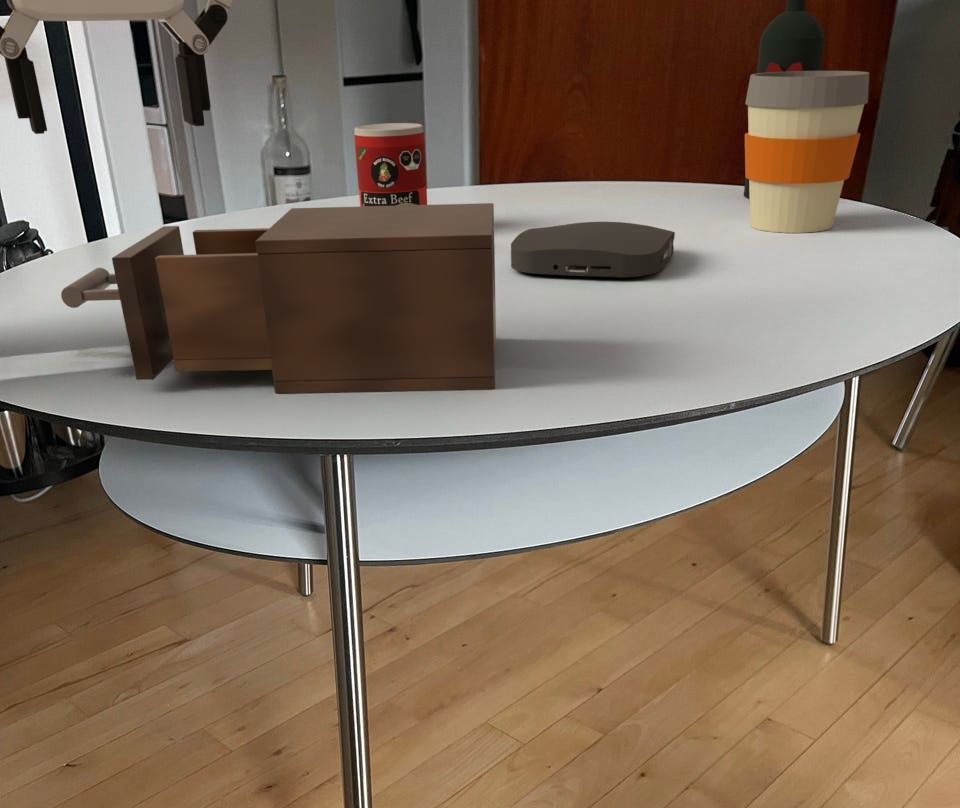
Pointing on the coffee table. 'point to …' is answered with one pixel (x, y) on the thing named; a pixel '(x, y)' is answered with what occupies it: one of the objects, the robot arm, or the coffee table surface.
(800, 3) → the wine bottle
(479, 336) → the cabinet
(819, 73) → the reusable coffee cup
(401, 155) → the canned food
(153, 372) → the drawer
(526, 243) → the media streaming box
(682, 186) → the coffee table surface
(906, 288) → the coffee table surface
